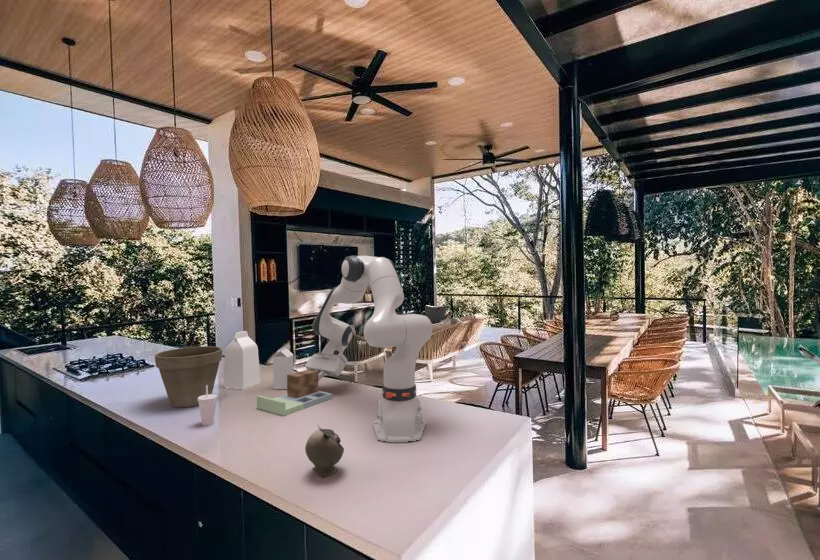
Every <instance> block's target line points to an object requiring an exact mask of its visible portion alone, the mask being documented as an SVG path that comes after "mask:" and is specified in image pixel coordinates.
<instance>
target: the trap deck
mask: <svg viewBox="0 0 820 560" xmlns="http://www.w3.org/2000/svg"><path fill="white" fill-rule="evenodd" d="M331 399H332V400H333V393H331V392H326V391H322V390H318V392H315V393H312V394H309V395H306V396H303V397H300V398H293V397H289V396H287V393H286V394H283V395H279V396H277V397H274V398H271V397H267V396H263V395H256V409H257V408H258V410H261V409H262V410H261V411H264V410H265V412H268V413H271V414H274V415H275V414H276V415H277V416H278V415H279V416H283V417H284V416H287V415H290V414H293V413H296V412H299V411H301V410H303V409H307V408H309V407H313V406H315V405H317V404H320V402H321V403H324V402H326V401H328V400H331Z"/></svg>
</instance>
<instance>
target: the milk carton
mask: <svg viewBox="0 0 820 560" xmlns="http://www.w3.org/2000/svg"><path fill="white" fill-rule="evenodd" d="M272 368H273V369H272V374H273V375H272V379H273V381H272V383H273V384H272V385H273V386H272V388H273V390H287V375H289V374H293V373H295V371H294V370H295V369H294V368H295V367H294V354H293V353H292V352H291V351H290V350H289V349H288V348H287V345H286V346H283V347H280V349H278V350H277V351H276V354H274V356H273V357H272Z"/></svg>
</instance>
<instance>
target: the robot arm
mask: <svg viewBox="0 0 820 560" xmlns="http://www.w3.org/2000/svg"><path fill="white" fill-rule="evenodd" d="M341 275H342V277H341V282H340V284H339V285H338V286H334V287H333V288H332V289H331V290H330V291H329V293H328V294H327V296H326V298H325V299H324V302H323V304H322V305H321V308H320V310H319V312H318V314H317V316H316V317H315V318H314V321H313V322H312V325H311V328H312V330H313V332H314V334H315V335H318V336H320V337H324V338H326V339H329V341H328V342H327V343H326V344H325V346H324V348H323V349H322V351H321V352H316V353H314V354H312V356H310V358H308V360H307V362H306V363H305V365H304V367H305V368H306V369H305V370H308V369H310V370H315V371H318V382H320V381H321V380H322V379H323V378H324V377H325V376H326V375H329V376H335V377H338V376H340V375H341V374H342V372H343V371H344V369H345V367H346V364H347V363H348V358H347V357H346V356H345V355H344V351H345V349H346V348H347V347H348V346H349V344H350V343H351V341H352V339H353V338H354V332H355V331H354V328H353V327H352V326H351V325H350V324H349V323H346V322H344V321H343V320H342V321H341V320H339V319H337V318H335V317H332V315H331V314H330V313H331V311H332V309H333V308H334V305H335V304H345V305H346V304H347V305H350V304H355V303H357V302H360V300H362V298H363V296H364V295H365V292H366V290H367V286H368V284H369V287H370V290H371V294H372V298H373V299H372V300H373V303H374V310H373V314H371V317H370V318H369V319H368V320H366V322H365V324H364V326H363V327H364V328H363V337H364V339H365V341H366V343H367V344H368V345H369V346H370V347H374V348H381V349H382V348H386V349H387V348H393V347H395V348H396V349H395V350H394V352H393V354H392V355H390V356H389V357H388V358H387V359H386V360H385V361H384V364H383V384H382V388H381V393H382V395H381V396H382V397H381V398H380V399H379V400H378V409H377V410H378V414H377V416H376V417H377V419H376V420H374V421H372V427H373V429H374V432H375V436H376V438H377V440H378V441H379V440H380V442H383V441H386V442H385V443H409V442H408V441H413V442H416V440H418V441H420V440H421V439H422V437H423V435H424V432H425V429H426V426H427V421H426V420H424V419H423V414H422V413H421V412H422V406H421V400H420V399H419V398H418V397H417V385H416V376H415V375H416V363H417V359H418V355H419V353H420V351H421V350H422V349H423V346H425V344H426V343H427V342H428V341H429V340H430V338H431V337H432V334H433V324H432V321H431V319H430V318H429V317H428V316H427V315H424V314H416V313H407V314H405V313H404V314H397V312H396V310H397V309H398V308H399V307H400V306H401V305H402V304H403V302H404V300H405V295H404V291H403V288H402V285H401V281H400V279H399V276H398V273H397V271H396V269H395V263H394V262H393V260H391V259H389V258H386V257H385V256H379V257H378V256H372V255H371V256H370V255H349V256H345V258H344V259H343V261H342V263H341ZM425 425H426V426H425ZM424 428H425V429H424ZM423 431H424V432H423ZM422 434H423V435H422Z"/></svg>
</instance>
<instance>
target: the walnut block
mask: <svg viewBox="0 0 820 560" xmlns="http://www.w3.org/2000/svg"><path fill="white" fill-rule="evenodd" d="M318 375H319V374H318V371H315V370H310V369H308V370H307V369H305V370H300V371H298V372H294V373H293V374H289V375H287V389H286V391H287V393H286V394H287V396H289V397H293V398H300V397H303V396H306V395H309V394H312V393H315V392H318V391H319V381H318Z"/></svg>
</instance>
